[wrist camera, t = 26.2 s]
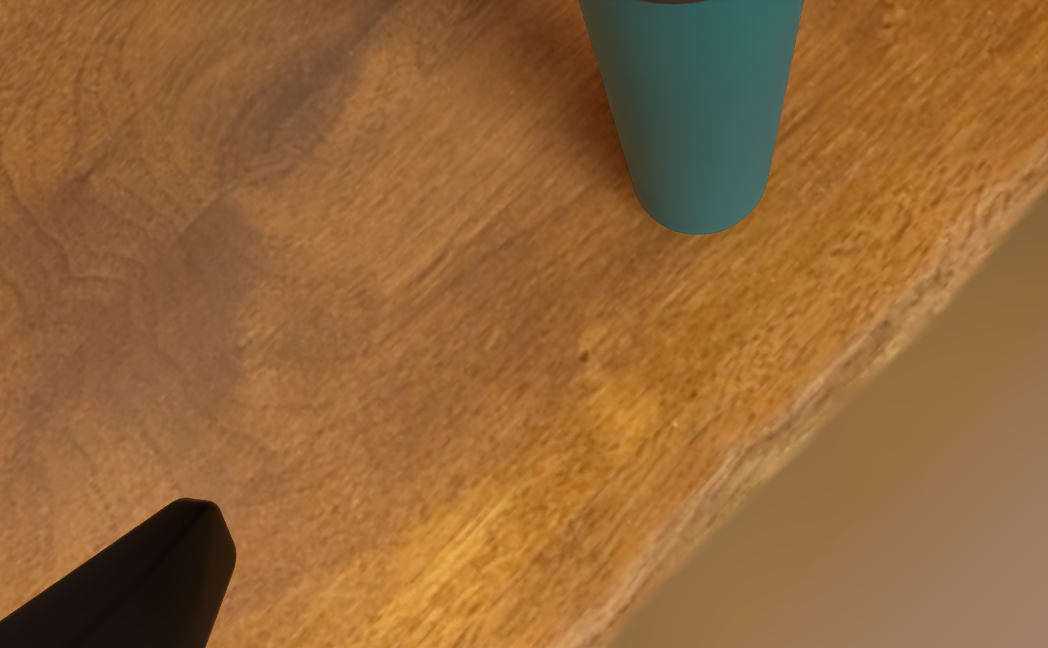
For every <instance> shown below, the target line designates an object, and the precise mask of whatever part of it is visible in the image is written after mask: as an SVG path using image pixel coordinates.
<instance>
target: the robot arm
mask: <svg viewBox="0 0 1048 648" xmlns="http://www.w3.org/2000/svg"><path fill="white" fill-rule="evenodd" d="M235 563H236V548H235V544H234V542H233V540H232V537H231V535H230V532H229V530H228V527H227V525H226V522H225V520H224V518H223V515H222V513H221V510H220V508H219V507H218V506H217V505H216V504H215V503H214V502H212V501H207V500H200V499H193V498H181V499H178V500H175V501H173V502H172V503H170V504H169V505H167V506H166V507H164V508H163V509H161V510H160V511H159V512H157V513H156V514H154V515H153V516H151V517H150V518H148V519H147V520H146V521H144V522H143V523H141V524H140V525H138V526H137V527H135V528H134V529H133V530H131V531H130V532H128V533H127V534H125V535H124V536H122V537H121V538H120V539H118V540H117V541H115V542H114V543H112V544H111V545H109V546H108V547H107V548H105V549H104V550H102V551H101V552H99V553H98V554H96V555H95V556H94V557H92V558H91V559H89V560H88V561H86V562H85V563H83V564H82V565H81V566H79V567H78V568H76V569H75V570H73V571H72V572H70V573H69V574H68V575H66V576H65V577H63V578H62V579H60V580H59V581H57V582H56V583H55V584H53V585H52V586H50V587H49V588H47V589H46V590H44V591H43V592H41V593H40V594H39V595H37V596H36V597H34V598H33V599H31V600H30V601H28V602H27V603H26V604H24V605H23V606H21V607H20V608H18V609H17V610H15V611H14V612H13V613H11V614H10V615H8V616H7V617H5V618H4V619H2V620H1V621H0V648H205V647H206V645H207V642H208V639H209V636H210V634H211V631H212V628H213V626H214V623H215V620H216V617H217V615H218V612H219V609H220V606H221V604H222V601H223V598H224V596H225V593H226V590H227V587H228V585H229V582H230V579H231V577H232V574H233V571H234V568H235Z"/></svg>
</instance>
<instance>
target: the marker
mask: <svg viewBox="0 0 1048 648" xmlns="http://www.w3.org/2000/svg"><path fill="white" fill-rule="evenodd" d="M803 2H804V0H579V3H580V6H581V10H582V13H583V17H584V20H585V23H586V27H587V30H588V34H589V37H590V40H591V44H592V47H593V51H594V54H595V57H596V61H597V64H598V68H599V71H600V74H601V78H602V81H603V85H604V88H605V91H606V95H607V98H608V102H609V105H610V108H611V112H612V115H613V118H614V122H615V125H616V129H617V132H618V135H619V139H620V142H621V146H622V149H623V152H624V156H625V159H626V163H627V166H628V169H629V173H630V176H631V180H632V183H633V186H634V190H635V193H636V195H637V198H638V200H639V201H640V203H641V205H642V207H643V208H644V209H645V210H646V212H647V213H648V214H649V215H650V216H651V217H652V218H653V219H654V220H656V221H657V222H658V223H660V224H661V225H663V226H665V227H667V228H669V229H671V230H674V231H676V232H680V233H685V234H693V235H704V234H711V233H715V232H719V231H722V230H725V229H727V228H730V227H731V226H733V225H735V224H737V223H738V222H740V221H741V220H742V219H744V218H745V217H746V216H747V215H748V214H749V213H750V212H751V211H752V210H753V209H754V208H755V206H756V205H757V204H758V202H759V200H760V199H761V197H762V195H763V193H764V190H765V188H766V184H767V181H768V176H769V171H770V166H771V161H772V156H773V151H774V146H775V141H776V136H777V131H778V126H779V121H780V116H781V111H782V106H783V101H784V97H785V92H786V87H787V82H788V77H789V72H790V67H791V62H792V57H793V52H794V47H795V42H796V37H797V32H798V27H799V22H800V17H801V12H802V7H803Z"/></svg>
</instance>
